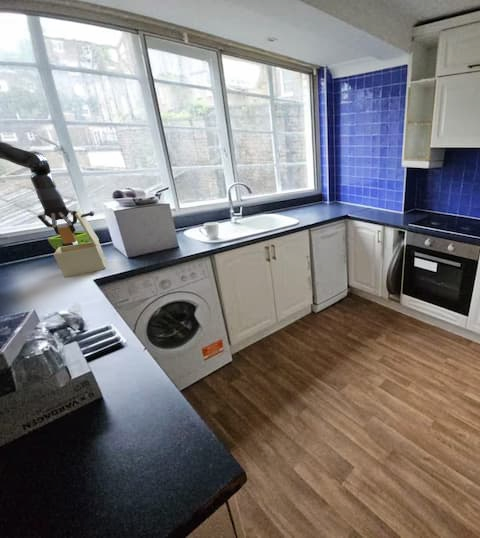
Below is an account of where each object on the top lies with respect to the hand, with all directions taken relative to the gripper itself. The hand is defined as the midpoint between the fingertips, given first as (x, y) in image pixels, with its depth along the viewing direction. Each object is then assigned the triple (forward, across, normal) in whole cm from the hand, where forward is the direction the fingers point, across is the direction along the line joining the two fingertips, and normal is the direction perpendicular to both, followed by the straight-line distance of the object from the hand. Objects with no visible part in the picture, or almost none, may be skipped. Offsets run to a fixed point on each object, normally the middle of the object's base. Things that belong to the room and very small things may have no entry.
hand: (66, 233), depth 142 cm
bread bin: (+19, -2, 0) cm, 19 cm away
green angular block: (+19, +4, -30) cm, 36 cm away
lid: (-1, -8, 0) cm, 8 cm away
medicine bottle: (+19, +4, -16) cm, 25 cm away
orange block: (+4, 0, 0) cm, 4 cm away
